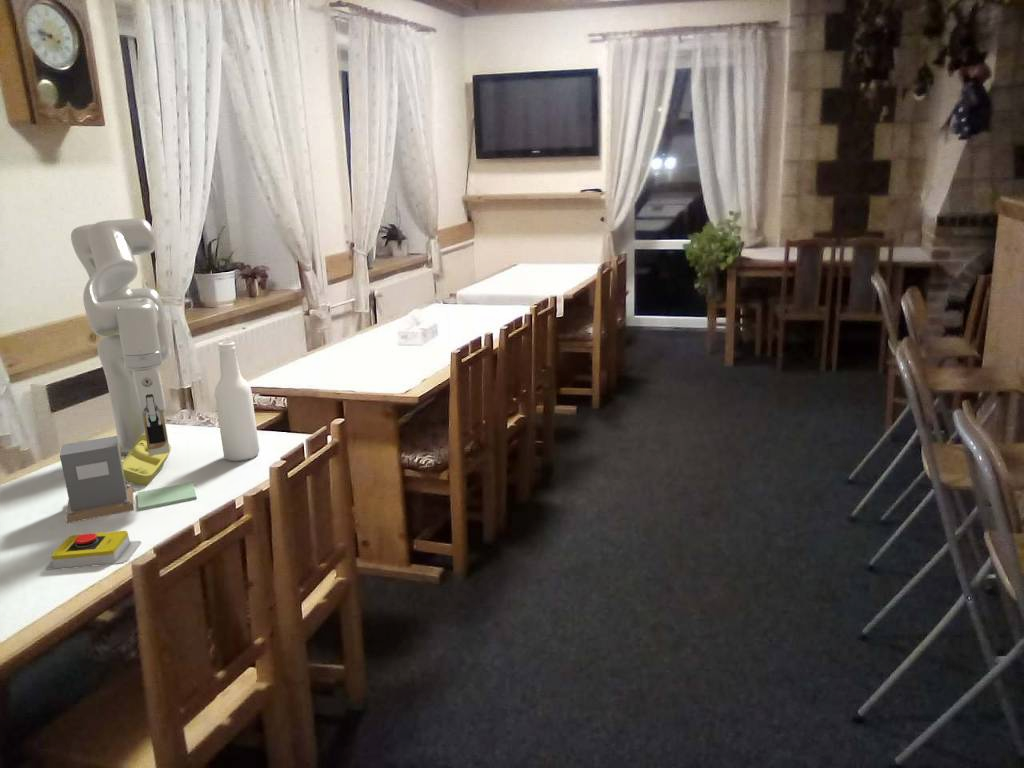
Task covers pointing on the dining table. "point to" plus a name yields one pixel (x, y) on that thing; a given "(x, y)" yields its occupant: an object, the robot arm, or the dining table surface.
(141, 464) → the plastic component
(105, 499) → the mounted unit
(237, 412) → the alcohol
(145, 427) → the skincare box
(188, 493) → the mat
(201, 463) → the dining table surface
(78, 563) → the emergency button
